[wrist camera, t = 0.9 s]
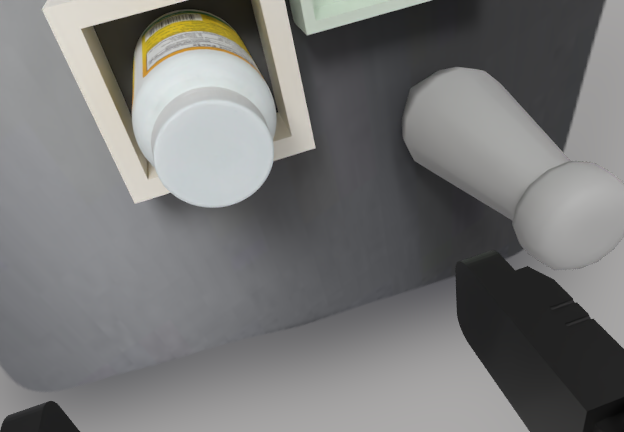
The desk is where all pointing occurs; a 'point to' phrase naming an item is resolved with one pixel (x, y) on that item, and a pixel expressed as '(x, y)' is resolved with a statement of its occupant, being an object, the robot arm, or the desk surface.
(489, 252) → the robot arm
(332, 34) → the desk surface
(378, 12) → the tray
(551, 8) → the desk surface
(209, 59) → the supplement bottle
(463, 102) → the salt shaker
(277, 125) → the white square frame
